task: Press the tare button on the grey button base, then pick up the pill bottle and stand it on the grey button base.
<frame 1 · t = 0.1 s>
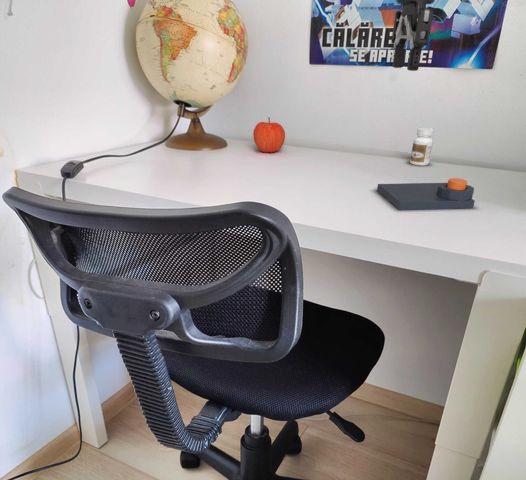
hand: (404, 69, 106), 20 cm above the table, tool pointing down, fingers open, 8 cm apart
apple: (268, 152, 126), on the table
tare button: (456, 184, 89), point 3 cm above the table, slide at 0.1 cm
grey button base: (422, 199, 93), on the table
pill bottle: (418, 164, 117), on the table
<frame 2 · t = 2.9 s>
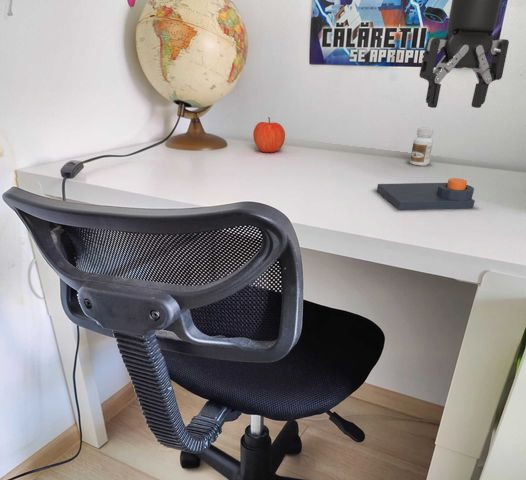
hand: (454, 107, 88), 15 cm above the table, tool pointing down, fingers open, 8 cm apart
nothing on the table moved.
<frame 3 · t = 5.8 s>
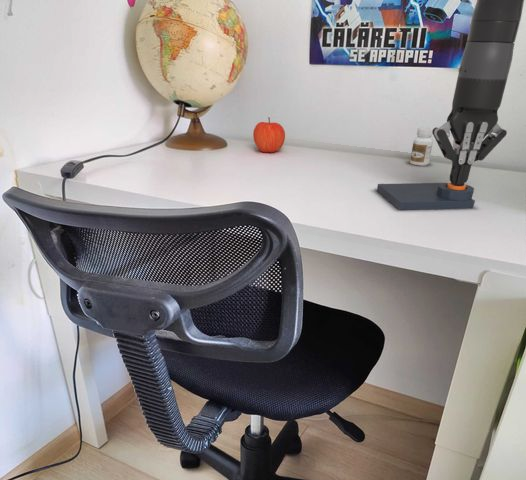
hand: (457, 184, 89), 3 cm above the table, tool pointing down, fingers closed
tare button: (455, 188, 89), point 3 cm above the table, slide at -0.6 cm, touching gripper
everything else where it was.
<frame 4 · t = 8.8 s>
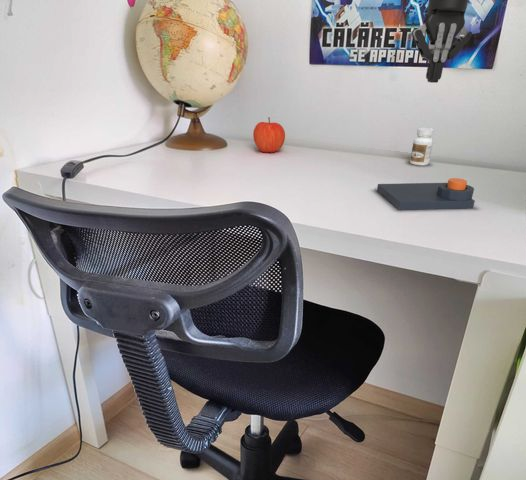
hand: (432, 82, 106), 17 cm above the table, tool pointing down, fingers closed
tare button: (456, 184, 89), point 3 cm above the table, slide at 0.1 cm
everything else where it was.
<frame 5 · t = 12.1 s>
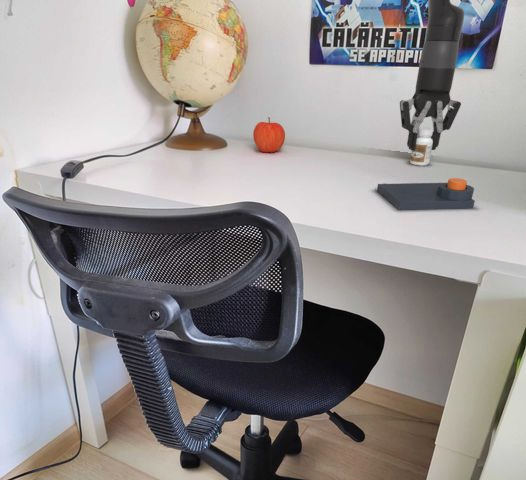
hand: (421, 149, 116), 3 cm above the table, tool pointing down, fingers closed on pill bottle, 4 cm apart
pill bottle: (418, 164, 117), on the table, touching gripper
everything else where it was.
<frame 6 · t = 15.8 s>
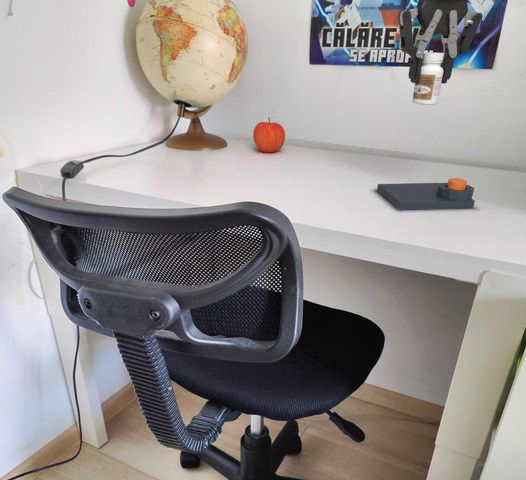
hand: (428, 82, 86), 19 cm above the table, tool pointing down, fingers closed on pill bottle, 4 cm apart
pill bottle: (424, 104, 88), point 16 cm above the table, touching gripper
everything else where it was.
when the fingers open (5 cm above the table, at t = 19.7 s): pill bottle stays where it is, resting on grey button base.
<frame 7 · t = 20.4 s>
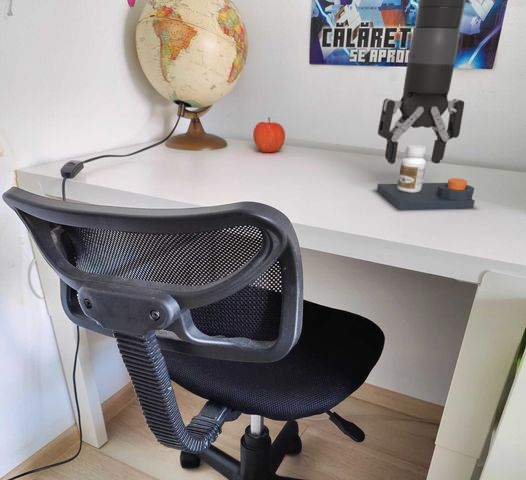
hand: (413, 162, 90), 6 cm above the table, tool pointing down, fingers open, 8 cm apart
pill bottle: (408, 191, 93), point 1 cm above the table, touching grey button base
everything else where it was.
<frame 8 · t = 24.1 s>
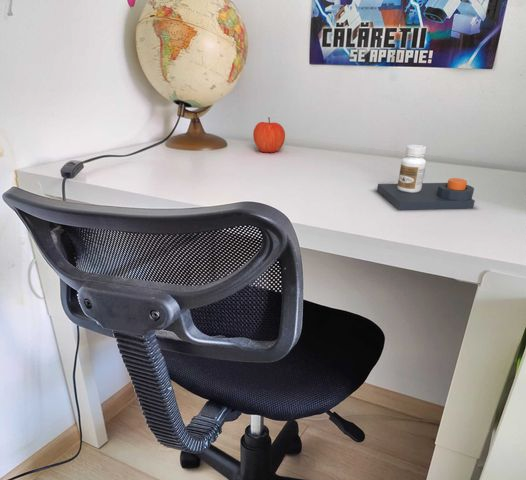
hand: (514, 22, 87), 28 cm above the table, tool pointing down, fingers open, 8 cm apart
nothing on the table moved.
at the end: tare button pushed in 0.9 cm at the most during the clip, back to where it started at the end; pill bottle inside the target area on the grey button base (2.9 cm from its centre), point 1.2 cm above the grey button base's base; pill bottle tilted 0° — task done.
